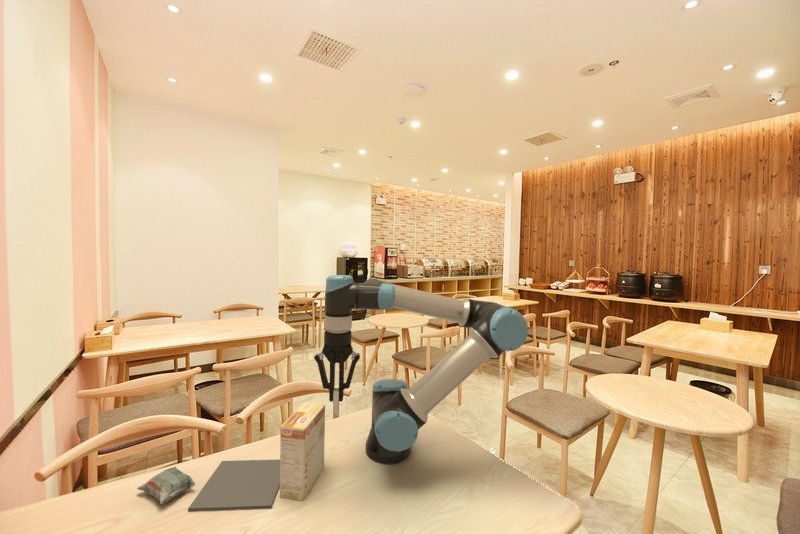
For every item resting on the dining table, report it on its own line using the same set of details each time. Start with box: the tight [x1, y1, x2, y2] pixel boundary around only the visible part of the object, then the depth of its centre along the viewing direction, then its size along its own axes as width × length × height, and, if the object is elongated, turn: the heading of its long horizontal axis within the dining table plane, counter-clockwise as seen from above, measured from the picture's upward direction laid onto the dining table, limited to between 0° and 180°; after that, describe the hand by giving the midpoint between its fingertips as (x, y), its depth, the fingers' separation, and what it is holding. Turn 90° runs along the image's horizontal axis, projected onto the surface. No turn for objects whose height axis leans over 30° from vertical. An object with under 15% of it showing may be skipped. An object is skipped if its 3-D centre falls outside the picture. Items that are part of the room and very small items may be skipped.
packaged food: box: [136, 466, 196, 505], centre depth 89 cm, size 9×12×5 cm
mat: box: [187, 459, 280, 513], centre depth 93 cm, size 20×19×1 cm
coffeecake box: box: [279, 401, 326, 502], centre depth 95 cm, size 15×7×20 cm, turn 171°
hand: (336, 411), depth 95 cm, fingers closed
